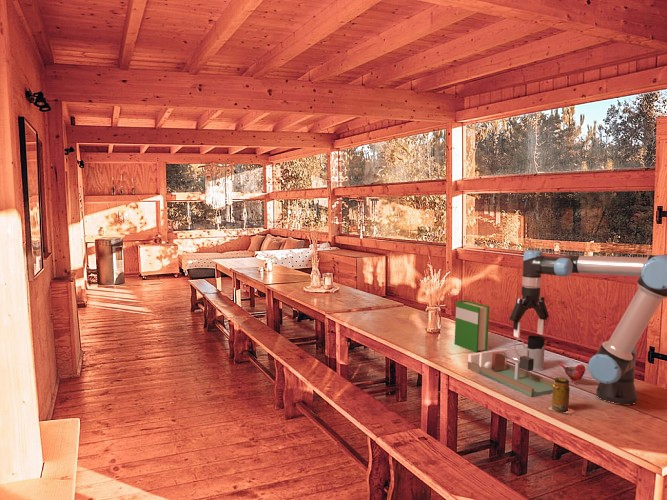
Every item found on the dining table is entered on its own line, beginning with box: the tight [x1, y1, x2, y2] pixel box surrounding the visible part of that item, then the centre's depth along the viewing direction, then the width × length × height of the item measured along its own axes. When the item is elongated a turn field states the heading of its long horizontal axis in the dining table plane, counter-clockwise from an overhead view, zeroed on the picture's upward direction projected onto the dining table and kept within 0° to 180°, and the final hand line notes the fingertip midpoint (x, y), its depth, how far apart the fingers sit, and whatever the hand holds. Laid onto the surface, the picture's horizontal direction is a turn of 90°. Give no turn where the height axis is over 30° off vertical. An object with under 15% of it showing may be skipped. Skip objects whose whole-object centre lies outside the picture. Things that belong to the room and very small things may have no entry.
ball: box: [484, 362, 492, 369], centre depth 261 cm, size 4×4×4 cm
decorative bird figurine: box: [558, 362, 587, 386], centre depth 246 cm, size 3×18×10 cm, turn 15°
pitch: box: [467, 348, 554, 398], centre depth 247 cm, size 40×15×10 cm, turn 26°
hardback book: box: [453, 300, 490, 353], centre depth 298 cm, size 18×7×24 cm, turn 27°
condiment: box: [547, 376, 571, 416], centre depth 213 cm, size 7×8×12 cm
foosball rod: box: [491, 352, 534, 372], centre depth 246 cm, size 20×6×10 cm, turn 26°
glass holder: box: [513, 335, 546, 372], centre depth 265 cm, size 9×14×15 cm, turn 78°
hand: (528, 335), depth 238 cm, fingers open, 13 cm apart
